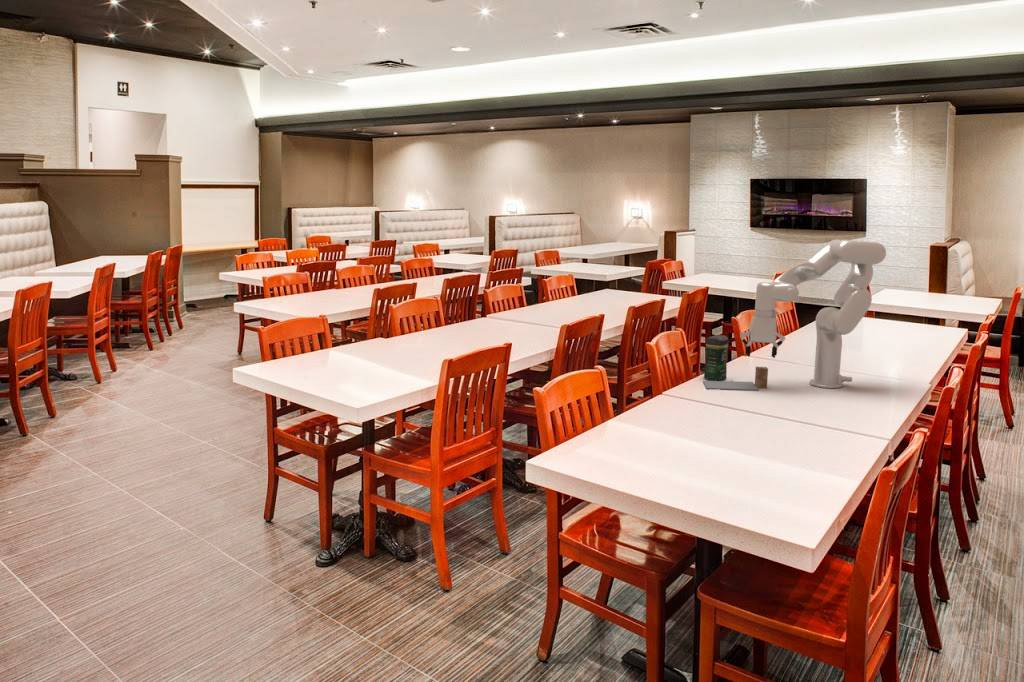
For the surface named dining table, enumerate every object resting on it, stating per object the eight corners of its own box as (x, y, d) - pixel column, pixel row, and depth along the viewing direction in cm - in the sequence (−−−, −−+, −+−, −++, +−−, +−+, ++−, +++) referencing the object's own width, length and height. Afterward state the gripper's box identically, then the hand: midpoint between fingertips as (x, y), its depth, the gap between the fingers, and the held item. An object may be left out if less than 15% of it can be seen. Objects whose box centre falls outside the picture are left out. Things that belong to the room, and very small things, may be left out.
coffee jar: (718, 382, 311) (720, 338, 308) (701, 379, 316) (703, 335, 313) (729, 378, 318) (731, 335, 315) (712, 375, 323) (714, 332, 320)
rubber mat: (752, 383, 309) (752, 381, 309) (758, 390, 296) (758, 389, 296) (702, 381, 312) (702, 380, 311) (706, 389, 299) (706, 387, 299)
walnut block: (764, 386, 304) (766, 366, 303) (766, 388, 300) (768, 368, 299) (754, 385, 305) (755, 366, 303) (756, 388, 301) (757, 368, 299)
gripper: (784, 313, 300) (781, 355, 303) (740, 311, 302) (736, 353, 305) (789, 316, 292) (785, 359, 295) (743, 314, 295) (740, 357, 297)
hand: (760, 356), depth 300 cm, fingers open, 9 cm apart
